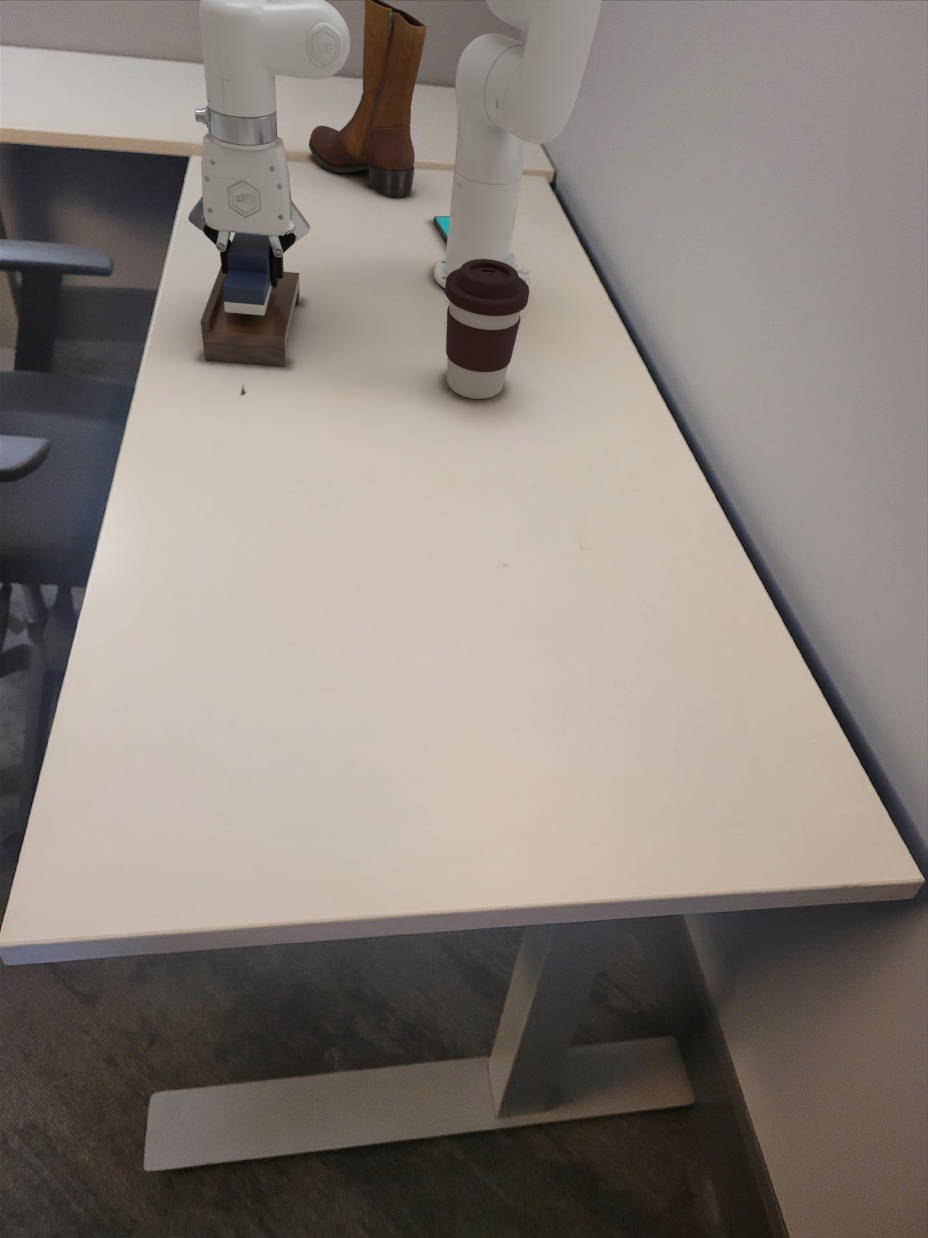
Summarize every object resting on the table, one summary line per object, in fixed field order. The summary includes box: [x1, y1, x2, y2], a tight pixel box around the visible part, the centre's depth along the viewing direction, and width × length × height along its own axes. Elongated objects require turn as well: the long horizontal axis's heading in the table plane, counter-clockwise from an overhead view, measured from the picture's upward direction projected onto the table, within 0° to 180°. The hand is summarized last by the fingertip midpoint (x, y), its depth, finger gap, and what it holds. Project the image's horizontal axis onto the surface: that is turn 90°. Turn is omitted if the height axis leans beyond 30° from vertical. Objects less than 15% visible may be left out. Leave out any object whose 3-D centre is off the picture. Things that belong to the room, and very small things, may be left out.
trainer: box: [223, 233, 272, 315], centre depth 107 cm, size 12×5×5 cm, turn 2°
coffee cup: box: [444, 259, 530, 400], centre depth 104 cm, size 10×10×15 cm
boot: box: [308, 0, 428, 199], centre depth 145 cm, size 25×9×27 cm, turn 39°
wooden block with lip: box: [200, 266, 301, 367], centre depth 111 cm, size 10×18×5 cm, turn 2°
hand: (253, 279), depth 110 cm, fingers closed on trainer, 4 cm apart
